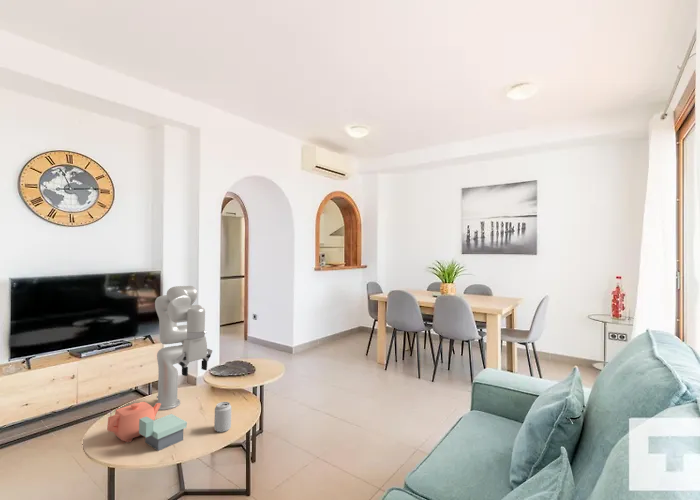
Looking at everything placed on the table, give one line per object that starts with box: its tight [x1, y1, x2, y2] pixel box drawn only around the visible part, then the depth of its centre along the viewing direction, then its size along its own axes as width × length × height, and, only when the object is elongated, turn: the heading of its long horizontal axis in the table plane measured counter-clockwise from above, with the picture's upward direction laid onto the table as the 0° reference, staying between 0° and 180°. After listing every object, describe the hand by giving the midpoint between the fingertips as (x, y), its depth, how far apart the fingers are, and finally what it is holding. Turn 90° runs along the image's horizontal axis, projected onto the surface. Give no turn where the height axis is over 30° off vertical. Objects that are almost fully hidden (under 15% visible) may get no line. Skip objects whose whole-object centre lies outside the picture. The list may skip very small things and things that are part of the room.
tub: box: [145, 429, 184, 452], centre depth 158 cm, size 11×11×7 cm
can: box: [213, 401, 232, 433], centre depth 170 cm, size 8×8×12 cm
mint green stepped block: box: [139, 413, 188, 439], centre depth 157 cm, size 13×16×7 cm
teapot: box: [106, 401, 161, 443], centre depth 163 cm, size 22×13×14 cm, turn 142°
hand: (194, 372), depth 162 cm, fingers open, 9 cm apart
